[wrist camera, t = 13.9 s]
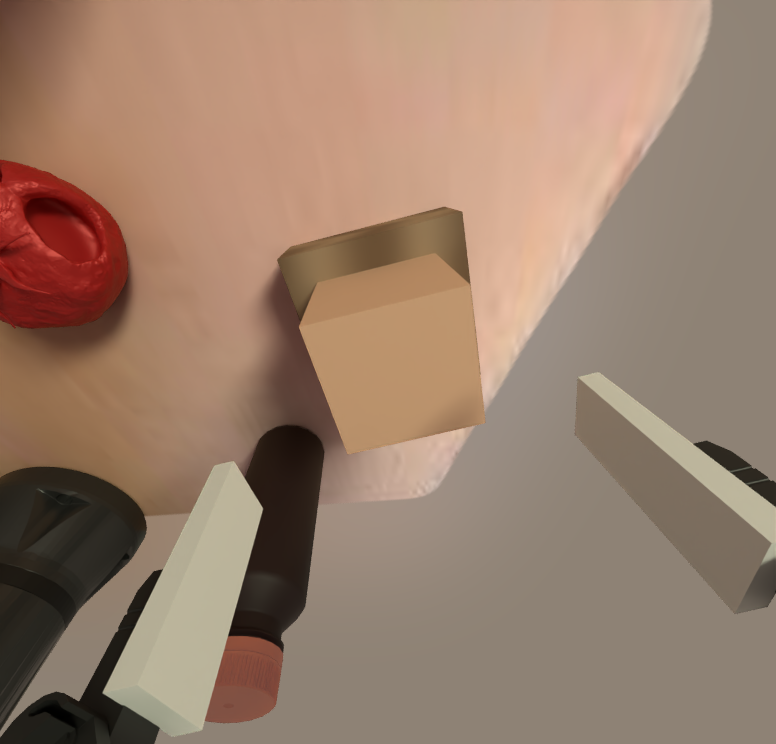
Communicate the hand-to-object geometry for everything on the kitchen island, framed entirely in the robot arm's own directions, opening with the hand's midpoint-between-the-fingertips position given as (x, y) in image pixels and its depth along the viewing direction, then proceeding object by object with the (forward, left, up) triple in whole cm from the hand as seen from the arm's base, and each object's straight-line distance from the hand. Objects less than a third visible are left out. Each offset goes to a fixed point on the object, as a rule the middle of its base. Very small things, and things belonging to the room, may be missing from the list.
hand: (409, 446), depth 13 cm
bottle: (-13, -13, -18) cm, 26 cm away
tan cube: (0, 0, -13) cm, 13 cm away
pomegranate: (-21, +10, -18) cm, 29 cm away
